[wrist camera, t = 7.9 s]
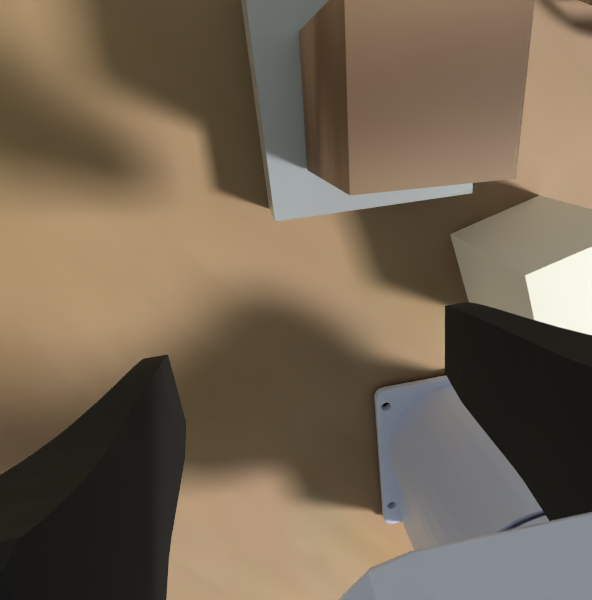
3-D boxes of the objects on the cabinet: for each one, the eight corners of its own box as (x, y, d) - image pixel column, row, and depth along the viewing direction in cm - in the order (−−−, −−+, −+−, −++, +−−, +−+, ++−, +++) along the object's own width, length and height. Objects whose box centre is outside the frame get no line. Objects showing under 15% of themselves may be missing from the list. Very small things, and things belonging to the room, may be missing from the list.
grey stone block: (440, 182, 21) (472, 193, 19) (268, 206, 21) (274, 221, 18) (442, -25, 18) (481, -48, 15) (239, -5, 18) (242, -26, 15)
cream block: (553, 277, 24) (653, 328, 18) (471, 312, 24) (545, 373, 18) (538, 195, 22) (644, 223, 16) (449, 233, 22) (524, 275, 16)
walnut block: (422, 159, 18) (515, 178, 12) (307, 170, 17) (349, 195, 12) (426, 23, 16) (537, -25, 11) (298, 31, 16) (343, -16, 10)
